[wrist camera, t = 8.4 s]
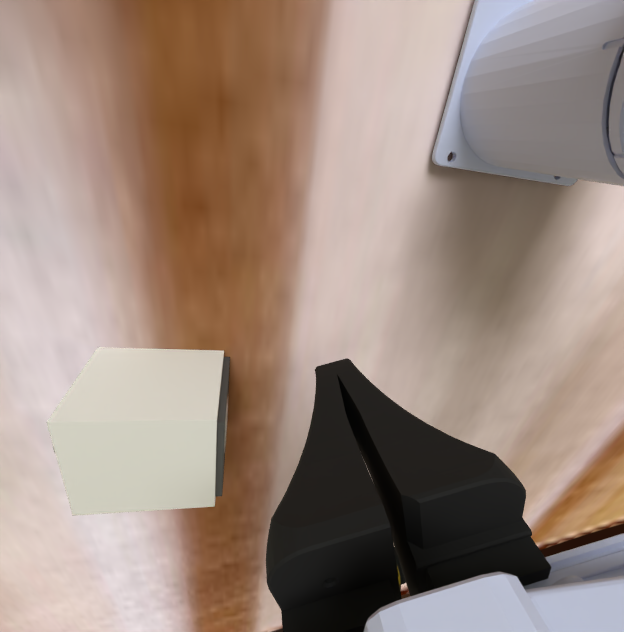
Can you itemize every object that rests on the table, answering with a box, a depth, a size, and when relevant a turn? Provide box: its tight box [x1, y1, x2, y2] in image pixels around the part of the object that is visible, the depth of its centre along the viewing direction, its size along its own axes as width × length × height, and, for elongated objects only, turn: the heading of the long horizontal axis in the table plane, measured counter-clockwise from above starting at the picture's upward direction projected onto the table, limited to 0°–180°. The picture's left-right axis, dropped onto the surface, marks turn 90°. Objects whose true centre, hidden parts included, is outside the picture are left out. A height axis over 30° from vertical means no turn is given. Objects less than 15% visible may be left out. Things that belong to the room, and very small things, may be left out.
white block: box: [47, 347, 230, 516], centre depth 21 cm, size 8×7×6 cm
